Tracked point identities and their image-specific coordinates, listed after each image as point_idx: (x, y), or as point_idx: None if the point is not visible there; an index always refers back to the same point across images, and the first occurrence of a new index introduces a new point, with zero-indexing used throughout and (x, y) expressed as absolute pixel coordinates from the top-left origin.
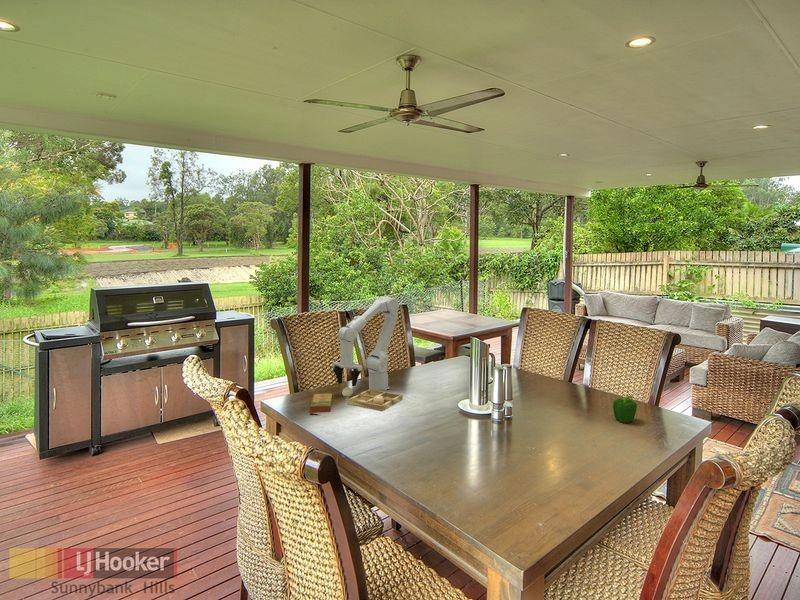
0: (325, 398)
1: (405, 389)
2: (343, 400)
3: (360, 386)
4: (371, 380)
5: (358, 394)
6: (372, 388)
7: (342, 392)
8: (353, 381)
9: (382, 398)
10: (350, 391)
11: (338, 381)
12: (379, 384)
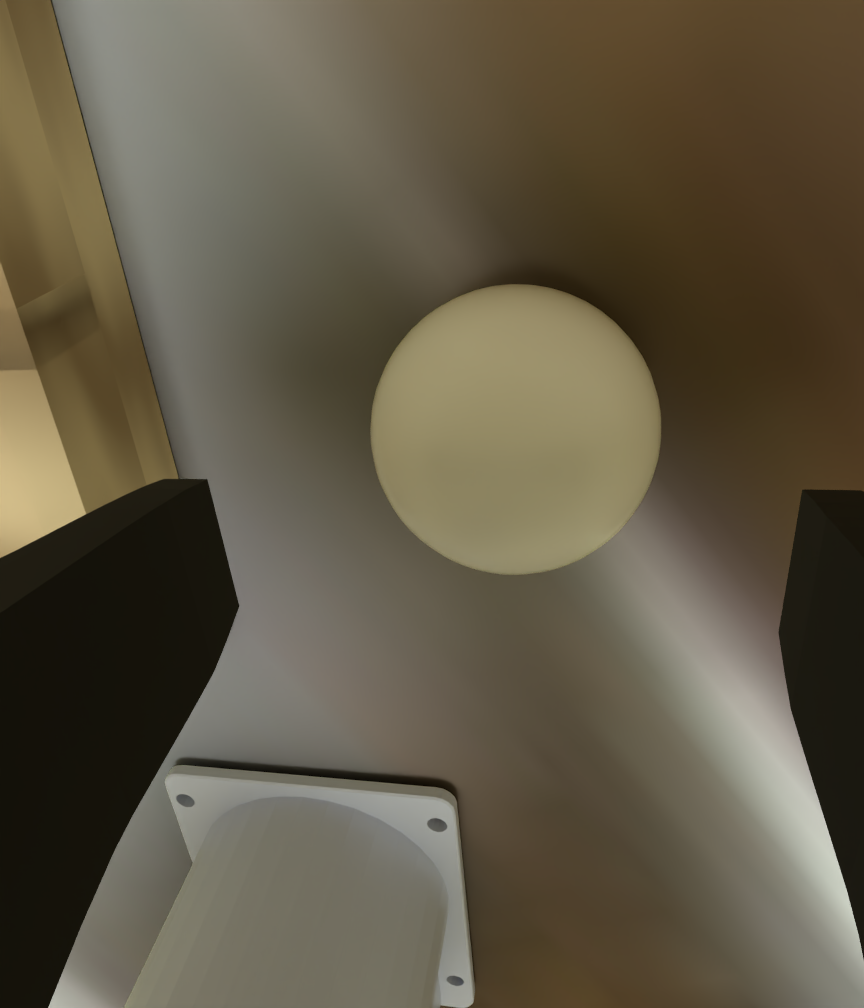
0: None
1: (74, 973)
2: (458, 124)
3: (691, 939)
4: (259, 992)
5: (4, 305)
6: (289, 838)
7: (601, 323)
8: (20, 549)
9: None
10: (374, 423)
11: (861, 522)
12: (161, 933)
